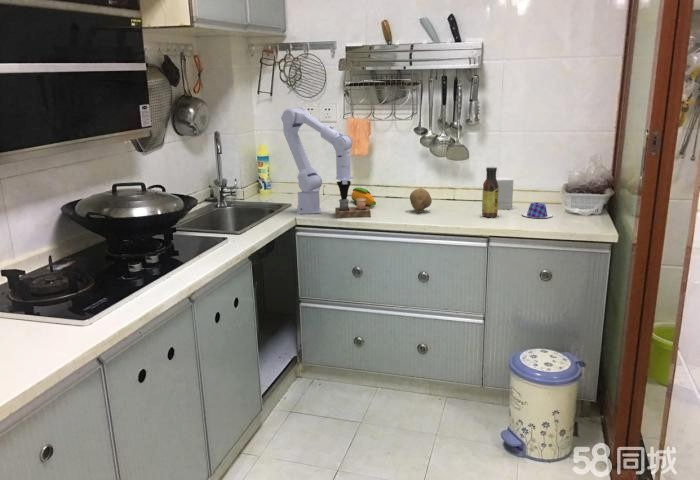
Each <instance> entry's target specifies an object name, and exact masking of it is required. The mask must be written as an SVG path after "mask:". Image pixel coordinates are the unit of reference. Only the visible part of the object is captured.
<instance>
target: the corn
mask: <svg viewBox="0 0 700 480" xmlns="http://www.w3.org/2000/svg"><path fill="white" fill-rule="evenodd" d="M359 198H364V199H366V201H365V206H366V205H368V206H375V205H377V202H376V201H375V199H374V197H373V196H372V194H371V192H370V191H369V190H368V189H367V188H363V187H354V188H353V189H352V192H351V199H352V201H353V202H354V203H356V204H357V201H356V199H359Z"/></svg>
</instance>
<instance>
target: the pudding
mask: <svg viewBox="0 0 700 480" xmlns="http://www.w3.org/2000/svg"><path fill="white" fill-rule="evenodd" d="M521 215H522V216H524V217H527V218H531V219H532V218H533V219H546V218H551V217H553V214H552V213H550V212H547V206H546V204H545V203H543V202H531V203H530V204H529V206H528V210H527V211H524V212H523V211H522V213H521Z"/></svg>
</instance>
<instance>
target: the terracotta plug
mask: <svg viewBox="0 0 700 480" xmlns="http://www.w3.org/2000/svg"><path fill="white" fill-rule="evenodd" d="M356 201H357V203H356V207H357V209H358V210H364V209H365V207H366V205H365V201H366V199H364V198H359V199H356Z"/></svg>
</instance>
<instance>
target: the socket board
mask: <svg viewBox="0 0 700 480" xmlns="http://www.w3.org/2000/svg"><path fill="white" fill-rule="evenodd" d="M334 208H335V209H334V212H335V217H336V219H347V218H349V219H350V218H351V219H352V218H353V219H354V218H356V219H357V218H371V217H372V216H371V215H372V213H371V212H372V211H371V208H370V207H369V205H368V206H365V209H364V210H358V209H357V206H349V209H348V210H340V206H339V207H334Z"/></svg>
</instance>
